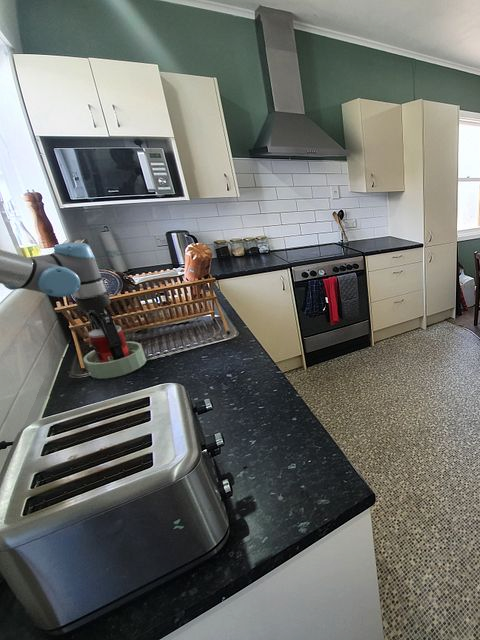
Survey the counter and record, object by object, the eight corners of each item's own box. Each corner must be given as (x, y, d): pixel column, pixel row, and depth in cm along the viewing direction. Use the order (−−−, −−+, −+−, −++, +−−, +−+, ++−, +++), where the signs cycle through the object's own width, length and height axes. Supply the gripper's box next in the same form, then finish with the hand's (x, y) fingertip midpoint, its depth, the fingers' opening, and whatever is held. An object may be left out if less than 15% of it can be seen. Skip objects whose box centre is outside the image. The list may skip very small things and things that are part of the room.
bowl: (101, 385, 107) (93, 369, 104) (83, 370, 113) (76, 354, 111) (155, 364, 118) (149, 349, 115) (135, 352, 125) (130, 337, 122)
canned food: (137, 355, 118) (127, 325, 113) (115, 367, 110) (103, 336, 106) (116, 353, 118) (105, 324, 114) (93, 365, 111) (81, 334, 106)
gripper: (120, 298, 103) (143, 364, 112) (93, 284, 113) (116, 346, 122) (87, 306, 97) (115, 374, 106) (62, 291, 107) (89, 355, 116)
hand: (115, 359), depth 114 cm, fingers closed on canned food, 8 cm apart
